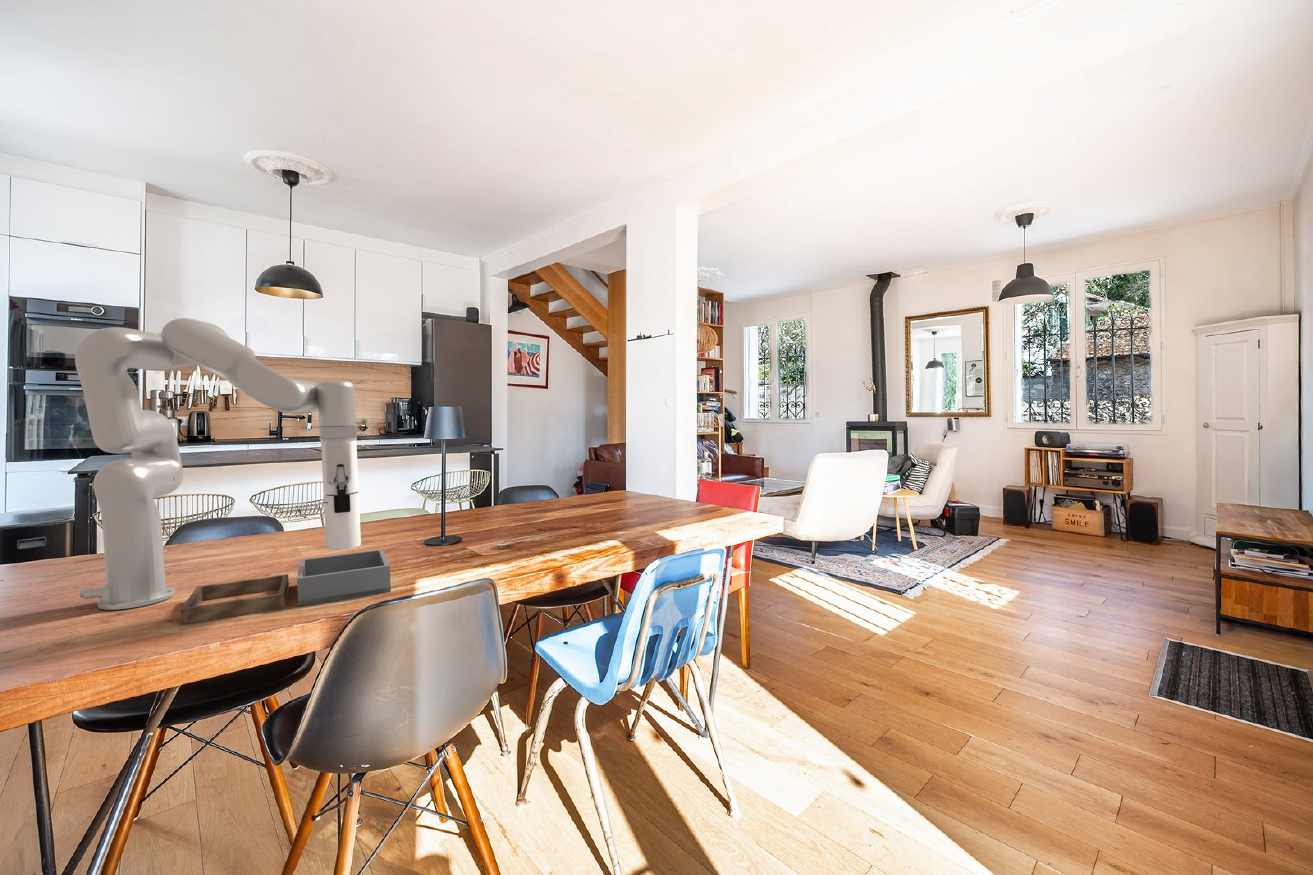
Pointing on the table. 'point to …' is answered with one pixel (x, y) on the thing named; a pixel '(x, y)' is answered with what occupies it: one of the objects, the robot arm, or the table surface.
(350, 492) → the cylindrical container
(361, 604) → the table surface
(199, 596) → the walnut frame
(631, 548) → the table surface
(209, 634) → the table surface
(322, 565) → the charcoal bin
